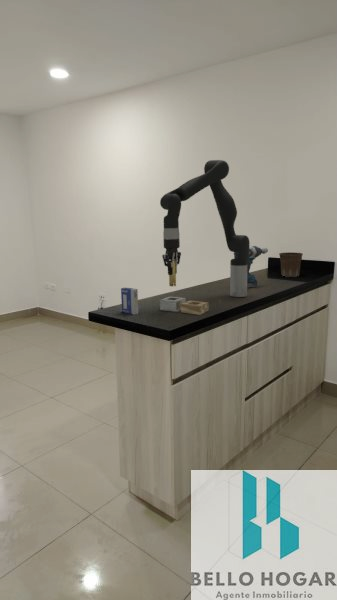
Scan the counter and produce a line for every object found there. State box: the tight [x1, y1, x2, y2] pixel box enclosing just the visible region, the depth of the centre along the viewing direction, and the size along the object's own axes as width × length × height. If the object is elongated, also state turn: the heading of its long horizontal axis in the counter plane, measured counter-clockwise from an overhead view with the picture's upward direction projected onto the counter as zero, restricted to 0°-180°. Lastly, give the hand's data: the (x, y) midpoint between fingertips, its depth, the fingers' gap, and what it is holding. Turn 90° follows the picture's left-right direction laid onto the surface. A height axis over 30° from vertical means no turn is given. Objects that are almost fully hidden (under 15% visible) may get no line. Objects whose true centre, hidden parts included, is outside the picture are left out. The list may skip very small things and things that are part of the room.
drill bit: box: [168, 261, 177, 287], centre depth 197 cm, size 3×3×12 cm
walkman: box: [120, 287, 139, 315], centre depth 193 cm, size 8×3×12 cm, turn 56°
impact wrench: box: [233, 245, 268, 289], centre depth 252 cm, size 8×23×25 cm, turn 112°
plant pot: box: [278, 252, 303, 278], centre depth 291 cm, size 16×16×16 cm
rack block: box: [180, 300, 210, 316], centre depth 194 cm, size 9×10×4 cm
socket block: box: [159, 296, 187, 313], centre depth 200 cm, size 9×9×5 cm
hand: (172, 274), depth 197 cm, fingers closed on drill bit, 3 cm apart
